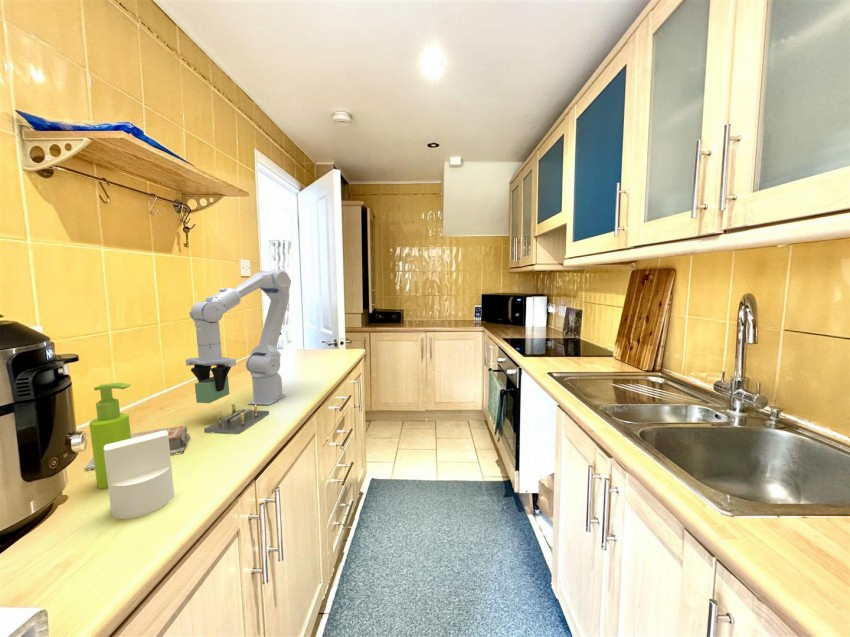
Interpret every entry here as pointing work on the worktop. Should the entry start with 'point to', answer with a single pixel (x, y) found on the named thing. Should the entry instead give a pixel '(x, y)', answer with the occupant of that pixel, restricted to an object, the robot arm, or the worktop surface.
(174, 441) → the packaged product
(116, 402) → the soap dispenser
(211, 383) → the block
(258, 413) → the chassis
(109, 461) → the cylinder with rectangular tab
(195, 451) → the worktop surface
